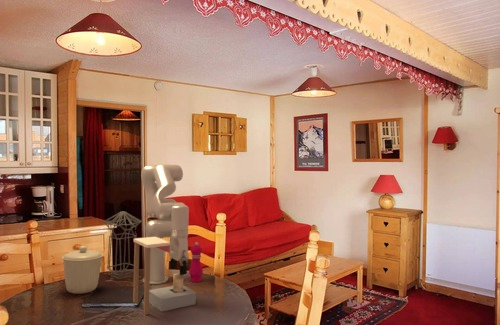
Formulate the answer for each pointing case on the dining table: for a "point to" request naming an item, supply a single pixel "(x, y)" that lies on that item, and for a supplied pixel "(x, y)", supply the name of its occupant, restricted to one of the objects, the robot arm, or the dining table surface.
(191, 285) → the dining table surface
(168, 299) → the socket block
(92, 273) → the canister
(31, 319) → the dining table surface
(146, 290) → the small side table
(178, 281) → the peg
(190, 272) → the pepper mill
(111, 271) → the geometric lantern
